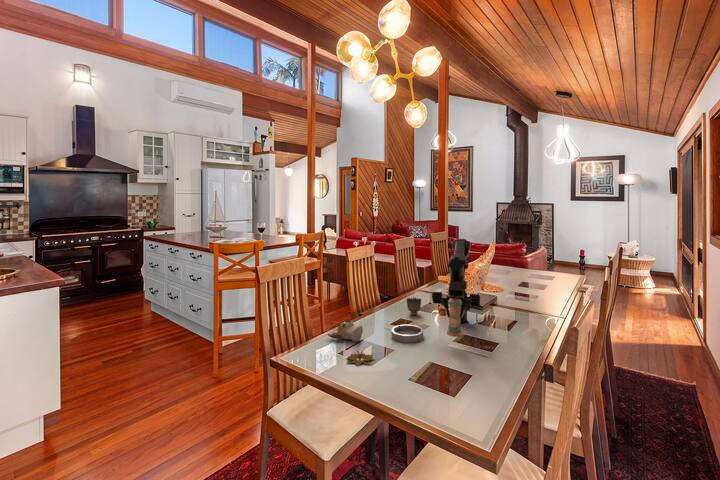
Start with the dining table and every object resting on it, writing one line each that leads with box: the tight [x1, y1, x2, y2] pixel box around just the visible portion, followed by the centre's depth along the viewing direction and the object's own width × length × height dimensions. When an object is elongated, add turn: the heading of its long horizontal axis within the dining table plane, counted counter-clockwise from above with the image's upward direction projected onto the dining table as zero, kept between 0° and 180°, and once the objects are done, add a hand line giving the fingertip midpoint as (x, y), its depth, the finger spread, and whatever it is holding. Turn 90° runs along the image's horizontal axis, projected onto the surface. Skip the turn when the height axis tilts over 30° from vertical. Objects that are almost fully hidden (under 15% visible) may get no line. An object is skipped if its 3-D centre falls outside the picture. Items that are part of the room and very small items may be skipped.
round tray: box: [390, 324, 424, 344], centre depth 166 cm, size 14×14×3 cm
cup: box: [406, 297, 422, 316], centre depth 196 cm, size 8×7×8 cm
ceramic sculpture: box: [327, 319, 363, 343], centre depth 165 cm, size 11×9×15 cm
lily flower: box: [345, 347, 375, 367], centre depth 144 cm, size 12×12×5 cm
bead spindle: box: [445, 298, 464, 338], centre depth 152 cm, size 6×6×14 cm
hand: (454, 317), depth 150 cm, fingers closed on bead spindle, 4 cm apart
